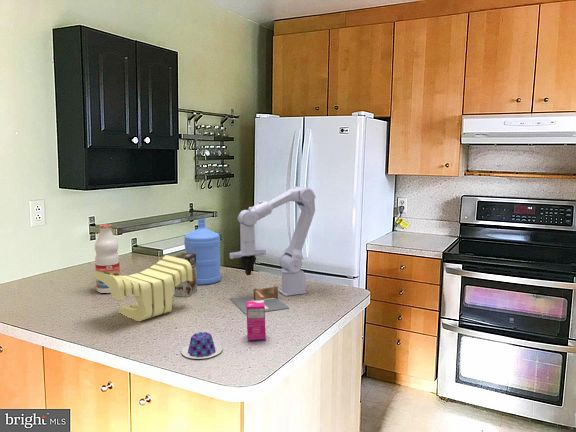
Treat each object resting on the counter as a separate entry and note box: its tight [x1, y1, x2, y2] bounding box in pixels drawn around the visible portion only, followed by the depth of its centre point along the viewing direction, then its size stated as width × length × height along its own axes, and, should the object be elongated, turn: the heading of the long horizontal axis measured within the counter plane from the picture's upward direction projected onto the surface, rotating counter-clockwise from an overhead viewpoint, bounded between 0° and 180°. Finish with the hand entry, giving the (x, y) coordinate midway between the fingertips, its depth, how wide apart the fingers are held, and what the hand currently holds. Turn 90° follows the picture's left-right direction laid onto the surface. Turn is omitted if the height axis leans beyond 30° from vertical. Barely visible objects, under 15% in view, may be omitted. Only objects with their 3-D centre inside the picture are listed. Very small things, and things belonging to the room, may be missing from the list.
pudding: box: [180, 331, 223, 360], centre depth 141 cm, size 12×12×5 cm
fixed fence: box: [252, 285, 279, 301], centre depth 188 cm, size 10×2×5 cm, turn 113°
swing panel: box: [255, 290, 264, 301], centre depth 181 cm, size 9×1×4 cm, turn 18°
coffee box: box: [173, 252, 198, 298], centre depth 195 cm, size 9×6×16 cm
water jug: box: [183, 218, 222, 286], centre depth 213 cm, size 16×16×28 cm
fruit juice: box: [94, 223, 121, 294], centre depth 198 cm, size 9×9×28 cm
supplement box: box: [246, 300, 267, 342], centre depth 150 cm, size 6×6×12 cm
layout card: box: [230, 295, 290, 316], centre depth 183 cm, size 17×19×1 cm
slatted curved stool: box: [93, 254, 193, 322], centre depth 172 cm, size 30×16×18 cm, turn 140°
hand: (248, 274), depth 188 cm, fingers closed
